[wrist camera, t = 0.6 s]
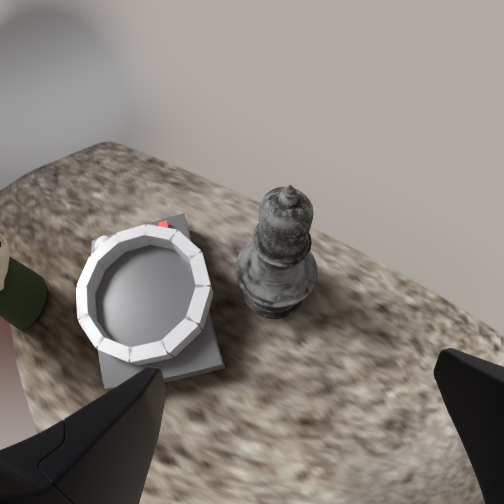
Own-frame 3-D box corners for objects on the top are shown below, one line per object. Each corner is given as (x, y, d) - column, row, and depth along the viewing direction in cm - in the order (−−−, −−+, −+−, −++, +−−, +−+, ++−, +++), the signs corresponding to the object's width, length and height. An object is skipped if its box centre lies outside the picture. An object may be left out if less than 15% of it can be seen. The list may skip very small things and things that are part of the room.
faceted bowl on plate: (235, 365, 20) (231, 357, 17) (110, 392, 18) (85, 387, 15) (197, 227, 26) (189, 200, 23) (96, 256, 25) (77, 234, 21)
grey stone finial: (253, 333, 21) (256, 259, 11) (227, 270, 24) (210, 162, 14) (320, 305, 22) (374, 215, 12) (290, 247, 25) (312, 138, 15)
